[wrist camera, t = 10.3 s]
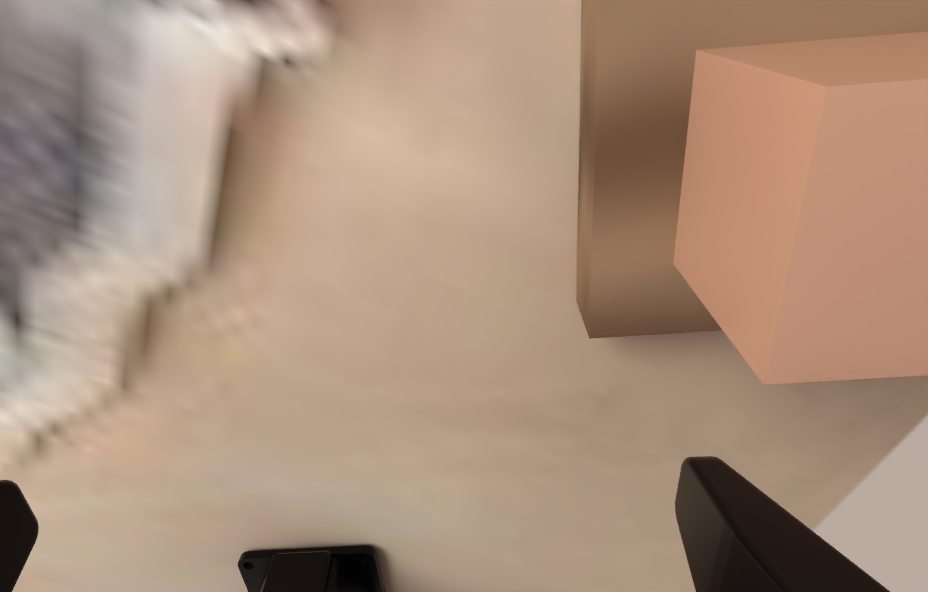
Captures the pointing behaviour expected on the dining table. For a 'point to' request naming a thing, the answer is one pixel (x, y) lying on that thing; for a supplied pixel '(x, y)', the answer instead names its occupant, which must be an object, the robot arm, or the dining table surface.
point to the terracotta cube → (811, 205)
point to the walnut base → (669, 137)
